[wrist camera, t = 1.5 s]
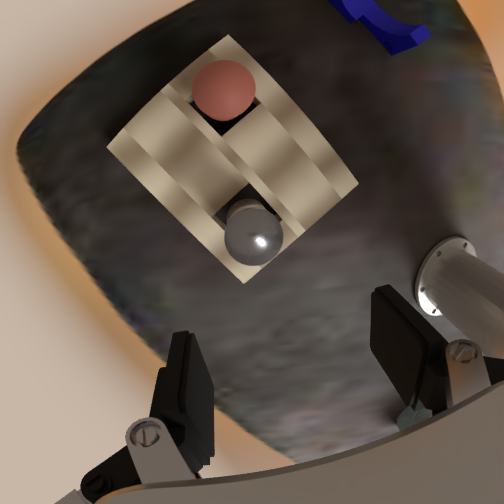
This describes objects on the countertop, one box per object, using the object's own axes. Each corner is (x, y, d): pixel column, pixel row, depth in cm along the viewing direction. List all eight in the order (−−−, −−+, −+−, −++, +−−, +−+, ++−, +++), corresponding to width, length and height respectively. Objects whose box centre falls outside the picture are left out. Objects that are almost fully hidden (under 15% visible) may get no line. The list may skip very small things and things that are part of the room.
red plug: (258, 102, 26) (268, 90, 20) (221, 134, 26) (221, 130, 20) (225, 68, 24) (226, 48, 18) (188, 100, 25) (179, 88, 19)
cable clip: (314, -11, 24) (330, -33, 18) (338, -24, 23) (356, -45, 17) (383, 61, 28) (411, 50, 22) (403, 45, 27) (431, 34, 21)
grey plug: (280, 219, 30) (295, 239, 24) (245, 250, 30) (251, 276, 25) (249, 185, 28) (256, 196, 22) (213, 217, 29) (211, 237, 23)
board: (347, 179, 32) (358, 183, 29) (242, 272, 35) (243, 283, 32) (227, 43, 26) (228, 34, 23) (116, 146, 28) (106, 147, 26)
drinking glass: (429, 389, 48) (457, 429, 37) (435, 408, 51) (459, 444, 40) (387, 417, 49) (410, 461, 38) (398, 433, 53) (418, 471, 41)
